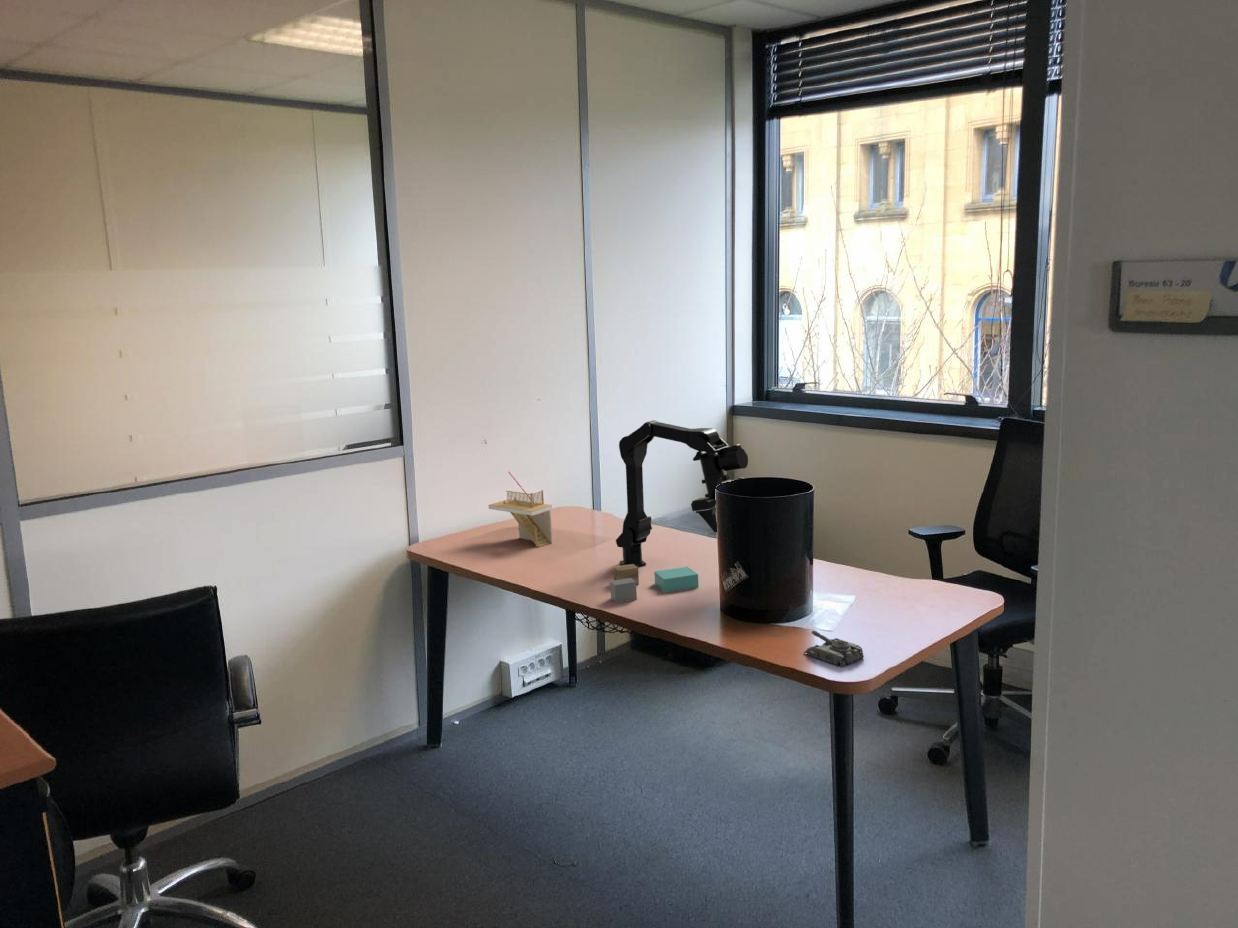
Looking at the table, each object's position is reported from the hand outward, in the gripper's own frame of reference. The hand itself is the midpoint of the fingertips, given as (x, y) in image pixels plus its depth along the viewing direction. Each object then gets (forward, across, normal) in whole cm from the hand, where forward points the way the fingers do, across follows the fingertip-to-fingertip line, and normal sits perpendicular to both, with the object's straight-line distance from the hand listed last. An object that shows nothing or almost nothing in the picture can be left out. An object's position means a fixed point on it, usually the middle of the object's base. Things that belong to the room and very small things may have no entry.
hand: (726, 528), depth 269 cm
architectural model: (-2, -5, +80) cm, 80 cm away
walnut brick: (+10, -19, +24) cm, 32 cm away
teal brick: (+13, -12, +12) cm, 21 cm away
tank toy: (+26, -31, -48) cm, 63 cm away
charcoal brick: (+11, -29, +16) cm, 35 cm away
